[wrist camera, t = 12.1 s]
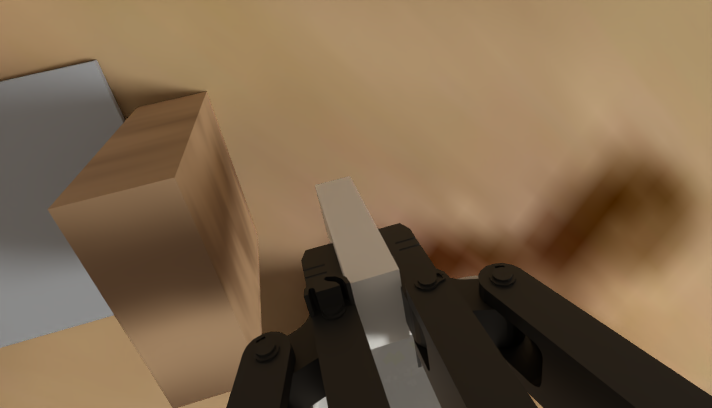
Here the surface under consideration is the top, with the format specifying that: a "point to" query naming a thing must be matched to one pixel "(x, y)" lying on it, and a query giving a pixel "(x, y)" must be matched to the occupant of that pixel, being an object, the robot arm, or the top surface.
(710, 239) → the top surface
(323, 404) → the teacup
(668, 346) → the top surface
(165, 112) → the walnut slab
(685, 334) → the top surface
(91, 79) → the felt mat
